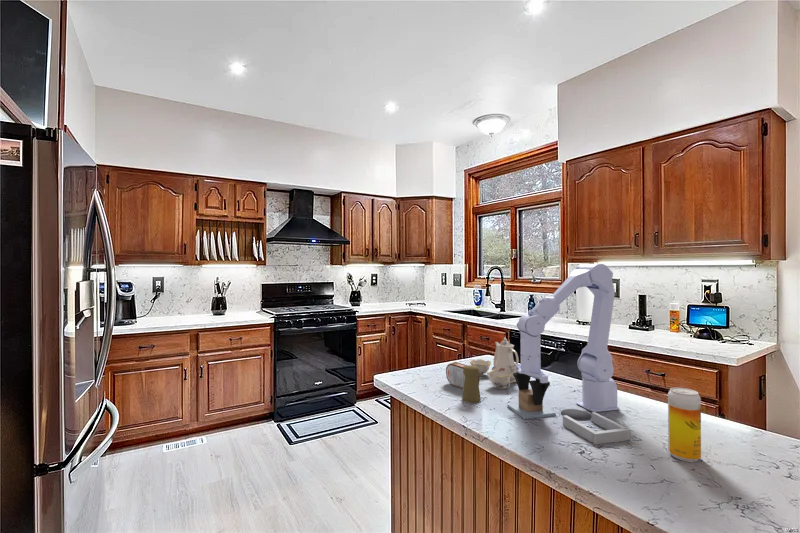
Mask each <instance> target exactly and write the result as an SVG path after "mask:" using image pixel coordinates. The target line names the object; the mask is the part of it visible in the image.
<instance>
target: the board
mask: <svg viewBox="0 0 800 533" xmlns="http://www.w3.org/2000/svg"><path fill="white" fill-rule="evenodd" d="M506 406H507V408H508V409H510V410H511V411H512V412H514V413H516V414H517V415H518V416H520V417H521V418H523V419H525V420H528V419H538V418H545V417H553V416H554V417H556V416H557V414H556V413H557V412H555V411H553V410H551V409H550V408H548V407H546V406H545V405H543V411H535V412H527V411H525V410H523V409H522V408H520V407H519V402H518V403H517V402H516V403H507V405H506Z"/></svg>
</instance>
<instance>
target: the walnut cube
mask: <svg viewBox="0 0 800 533" xmlns="http://www.w3.org/2000/svg"><path fill="white" fill-rule="evenodd" d="M518 403H519V407H520V408H522V409H523V410H525V411H527V412H535V411H543V406H544V405H543V404H544V402H542V405H534V401H533V392H532V388H528V389H524V390H519V389H518Z"/></svg>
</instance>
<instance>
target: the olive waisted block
mask: <svg viewBox="0 0 800 533" xmlns="http://www.w3.org/2000/svg"><path fill="white" fill-rule="evenodd" d="M463 373H464V375H465V380H464V388H463V389H462V397H461V400H462V401H463V402H465V403H469V404H477V403H480V402H481V401H482V399H481V392H480V382H479V383H478V375H479V369H478V367H476V366H472V365H471V364H470V365H468V366H465V367H464V369H463Z"/></svg>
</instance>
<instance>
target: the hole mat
mask: <svg viewBox="0 0 800 533" xmlns="http://www.w3.org/2000/svg"><path fill="white" fill-rule="evenodd" d="M560 414H561V416H562V417H563V416H564V415H567V416H569V417H571V418H572V419H574V420H576V421H587V420H590V419H592V414H590V413H589V412H587V411H584V410H582V409H577V408H576V409H575V408H567V409H566V408H564V409H563V410H561V412H560Z"/></svg>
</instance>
